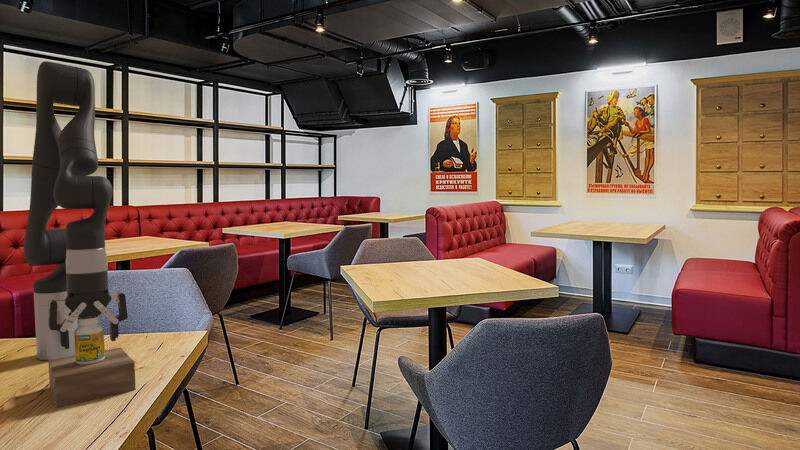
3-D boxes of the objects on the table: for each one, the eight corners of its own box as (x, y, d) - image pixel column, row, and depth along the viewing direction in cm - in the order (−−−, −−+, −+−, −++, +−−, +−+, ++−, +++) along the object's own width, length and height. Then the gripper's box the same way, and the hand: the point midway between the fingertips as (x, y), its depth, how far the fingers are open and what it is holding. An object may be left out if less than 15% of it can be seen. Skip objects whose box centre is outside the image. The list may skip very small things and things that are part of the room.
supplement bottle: (104, 355, 112) (102, 313, 111) (105, 362, 107) (103, 317, 107) (75, 360, 109) (73, 316, 108) (75, 367, 104) (73, 321, 104)
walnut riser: (49, 387, 109) (48, 360, 109) (121, 372, 118) (120, 347, 118) (56, 407, 98) (55, 377, 98) (135, 389, 107) (134, 362, 107)
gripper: (120, 264, 114) (123, 334, 115) (44, 271, 105) (48, 346, 106) (128, 268, 108) (131, 341, 109) (48, 275, 99) (52, 355, 100)
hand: (90, 344), depth 108 cm, fingers open, 8 cm apart
